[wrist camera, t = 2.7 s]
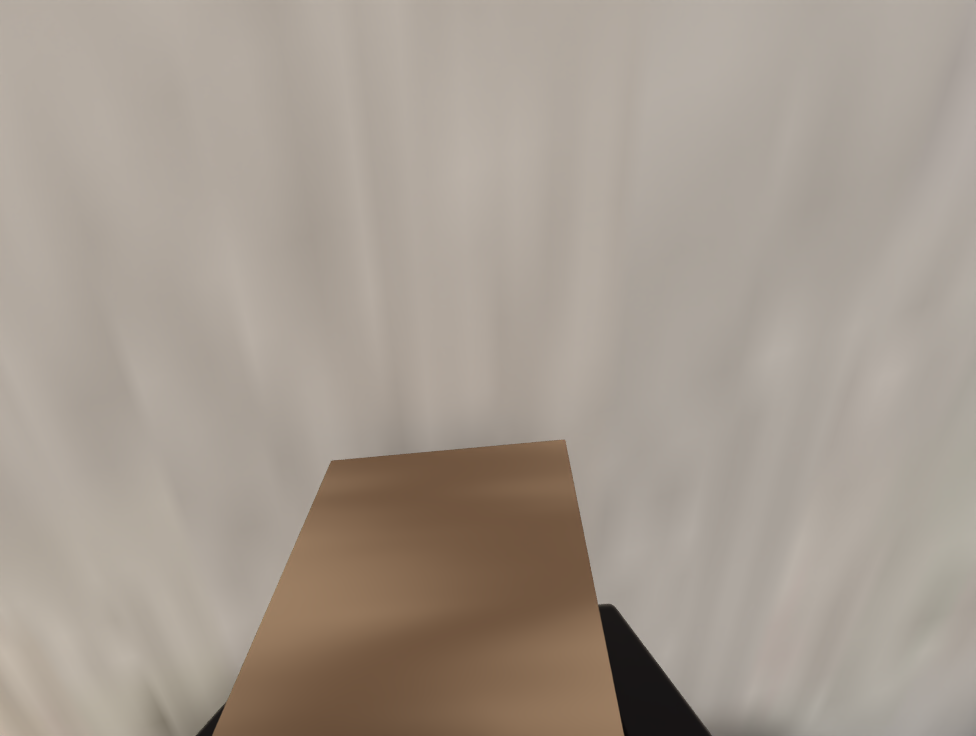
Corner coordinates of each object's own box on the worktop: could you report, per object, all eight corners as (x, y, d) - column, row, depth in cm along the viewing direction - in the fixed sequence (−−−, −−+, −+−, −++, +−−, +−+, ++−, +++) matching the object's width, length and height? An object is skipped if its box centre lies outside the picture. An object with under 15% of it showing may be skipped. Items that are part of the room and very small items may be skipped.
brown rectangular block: (565, 439, 10) (688, 1052, 4) (576, 612, 12) (674, 1234, 5) (331, 460, 10) (66, 1073, 4) (375, 627, 12) (242, 1240, 6)
